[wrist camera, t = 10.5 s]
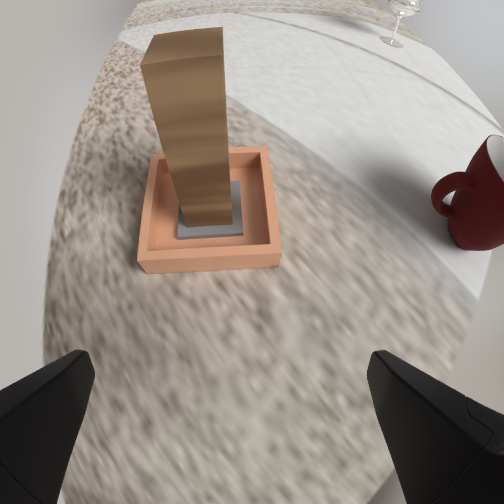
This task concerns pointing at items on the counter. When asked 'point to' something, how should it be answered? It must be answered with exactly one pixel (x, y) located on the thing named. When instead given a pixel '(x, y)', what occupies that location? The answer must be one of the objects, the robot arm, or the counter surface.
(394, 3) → the wineglass
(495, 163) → the mug
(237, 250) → the dish
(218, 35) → the wood grain bar
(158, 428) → the counter surface
